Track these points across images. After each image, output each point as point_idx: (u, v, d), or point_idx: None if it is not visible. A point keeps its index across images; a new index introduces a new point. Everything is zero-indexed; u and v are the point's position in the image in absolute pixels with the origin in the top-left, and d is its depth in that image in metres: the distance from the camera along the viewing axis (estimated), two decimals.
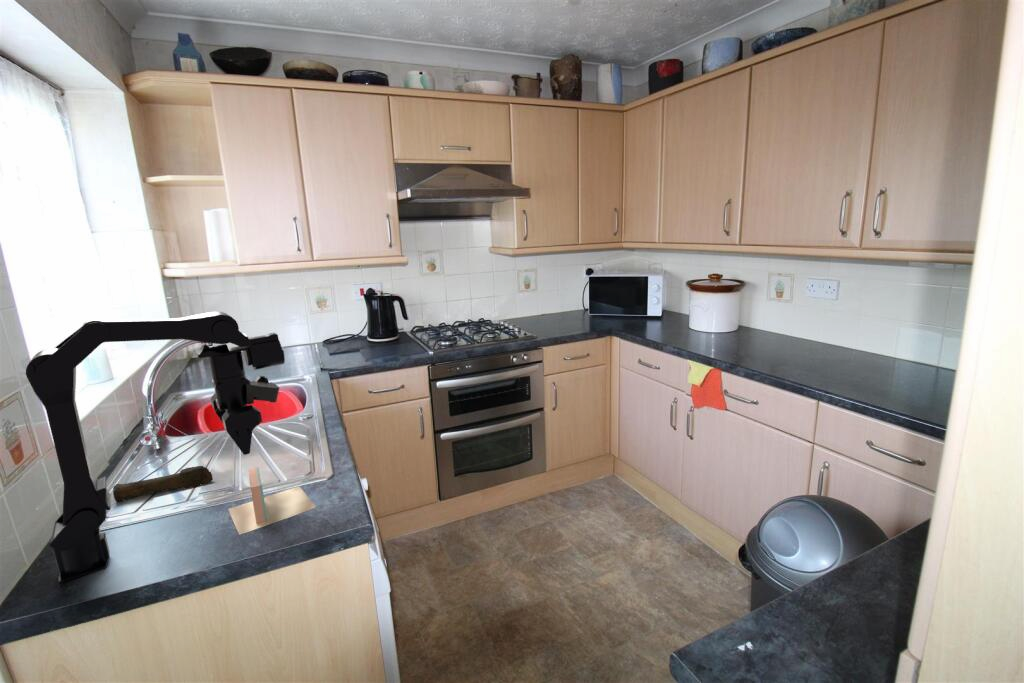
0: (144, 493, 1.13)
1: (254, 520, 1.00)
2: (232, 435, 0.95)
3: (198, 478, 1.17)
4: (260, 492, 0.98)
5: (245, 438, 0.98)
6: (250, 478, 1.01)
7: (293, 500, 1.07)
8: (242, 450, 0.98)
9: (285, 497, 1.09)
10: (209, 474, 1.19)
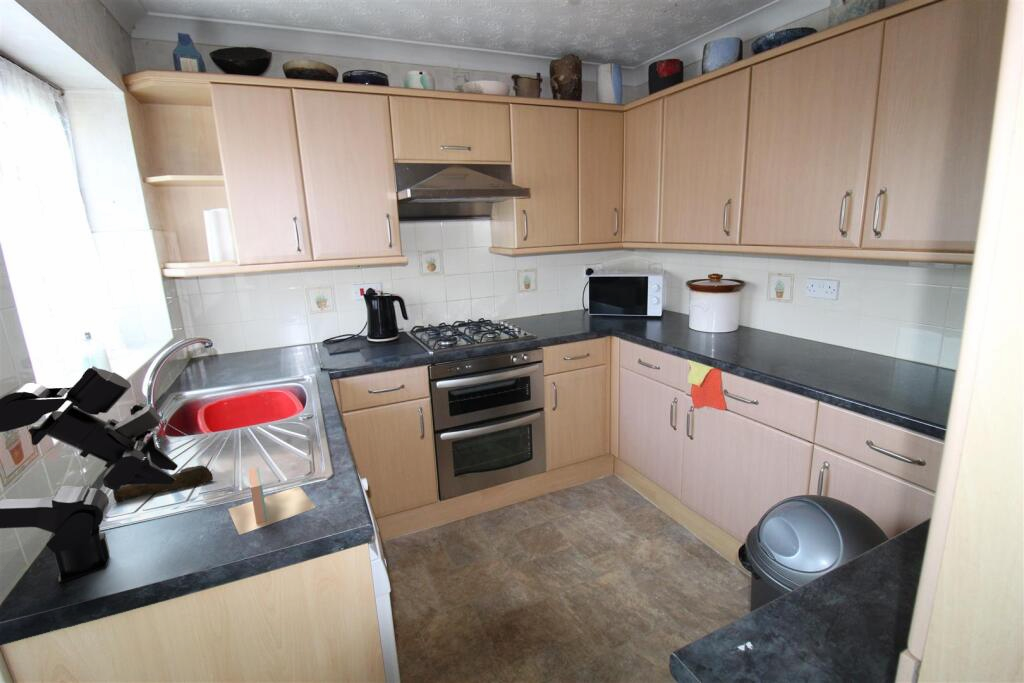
0: (144, 493, 1.13)
1: (254, 520, 1.00)
2: (136, 482, 0.87)
3: (199, 478, 1.18)
4: (260, 492, 0.98)
5: (154, 474, 0.89)
6: (250, 478, 1.01)
7: (293, 500, 1.07)
8: (164, 483, 0.90)
9: (285, 497, 1.09)
10: (209, 473, 1.19)
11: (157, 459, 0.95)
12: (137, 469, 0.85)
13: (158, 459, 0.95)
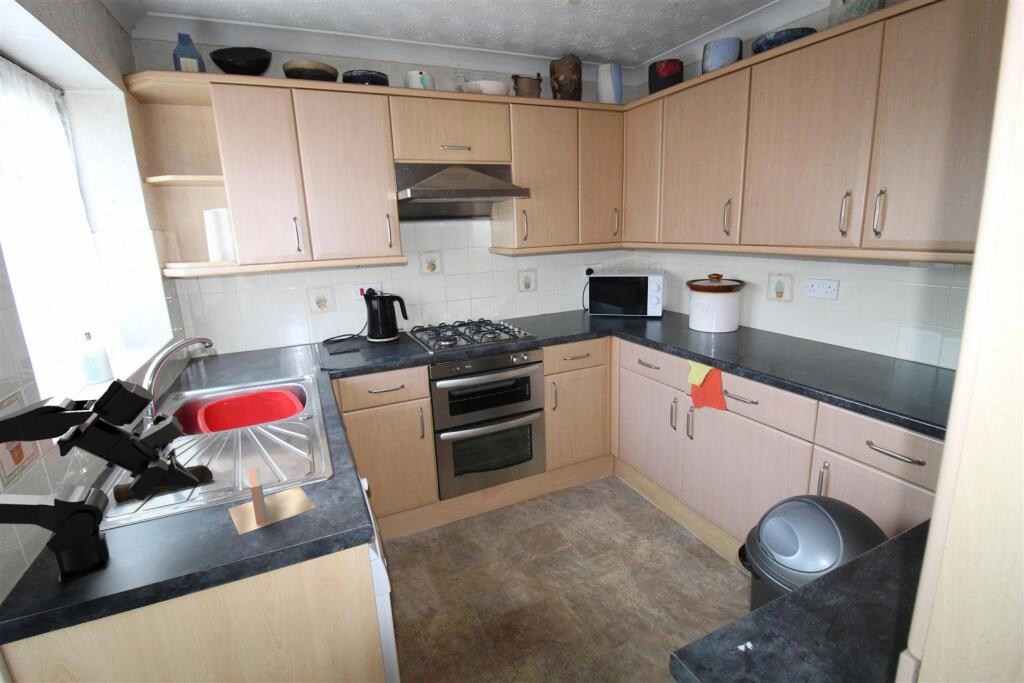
0: None
1: (254, 520, 1.00)
2: (162, 484, 0.92)
3: (199, 477, 1.18)
4: (260, 492, 0.98)
5: (178, 477, 0.93)
6: (250, 478, 1.01)
7: (293, 500, 1.07)
8: (188, 485, 0.95)
9: (285, 497, 1.09)
10: (209, 473, 1.20)
11: None
12: None
13: None
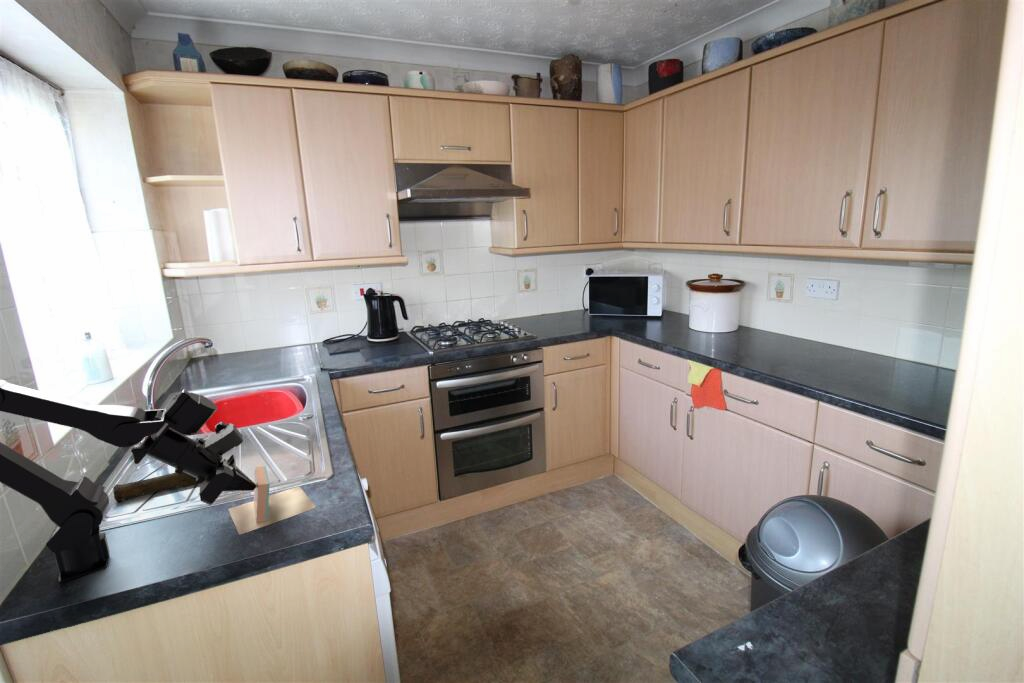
0: (145, 492, 1.13)
1: (254, 520, 1.00)
2: (224, 489, 0.97)
3: None
4: (266, 490, 0.99)
5: (239, 482, 0.99)
6: (258, 475, 1.02)
7: (293, 500, 1.07)
8: (247, 489, 1.01)
9: (285, 497, 1.09)
10: None
11: None
12: None
13: None
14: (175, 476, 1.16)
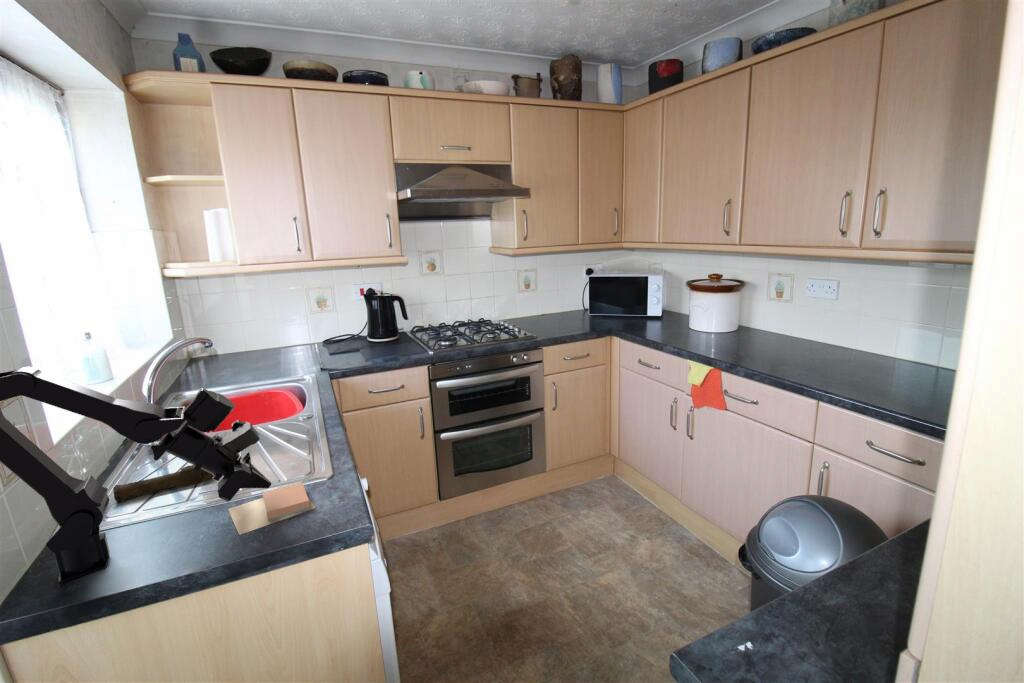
0: (145, 493, 1.13)
1: (254, 520, 1.00)
2: (240, 486, 0.99)
3: (199, 476, 1.19)
4: (302, 509, 1.03)
5: (254, 479, 1.00)
6: (305, 492, 1.07)
7: None
8: (262, 487, 1.02)
9: None
10: None
11: None
12: None
13: None
14: (175, 476, 1.16)
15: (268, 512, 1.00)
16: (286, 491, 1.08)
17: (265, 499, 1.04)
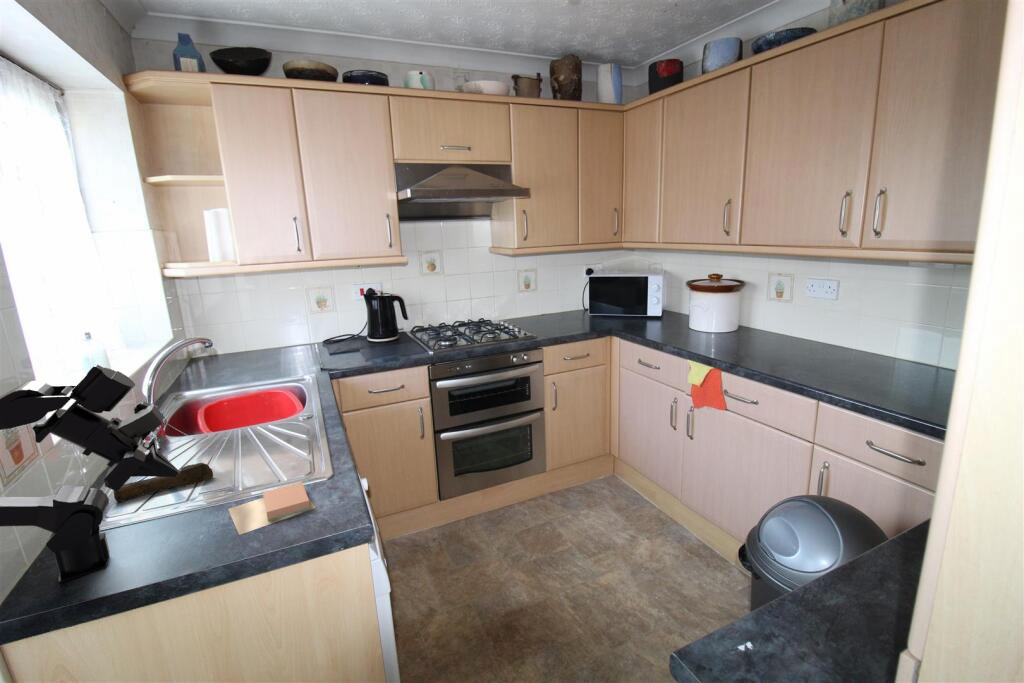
0: (145, 492, 1.13)
1: (254, 520, 1.00)
2: (140, 474, 0.90)
3: (200, 475, 1.19)
4: (302, 509, 1.03)
5: (157, 467, 0.91)
6: (305, 492, 1.07)
7: None
8: (168, 475, 0.93)
9: None
10: (210, 470, 1.21)
11: None
12: None
13: None
14: None
15: (268, 512, 1.00)
16: (286, 491, 1.08)
17: (265, 499, 1.04)
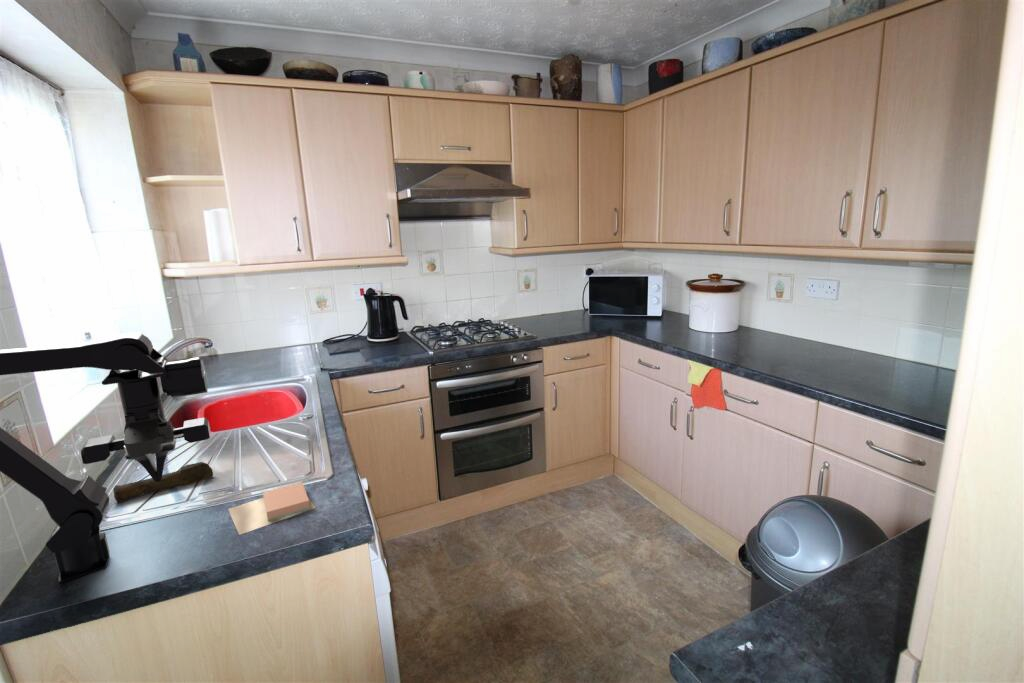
0: (146, 492, 1.14)
1: (254, 520, 1.00)
2: None
3: (200, 474, 1.20)
4: (302, 509, 1.03)
5: None
6: (305, 492, 1.07)
7: None
8: None
9: None
10: (210, 469, 1.21)
11: None
12: None
13: None
14: (176, 475, 1.17)
15: (268, 512, 1.00)
16: (286, 491, 1.08)
17: (265, 499, 1.04)
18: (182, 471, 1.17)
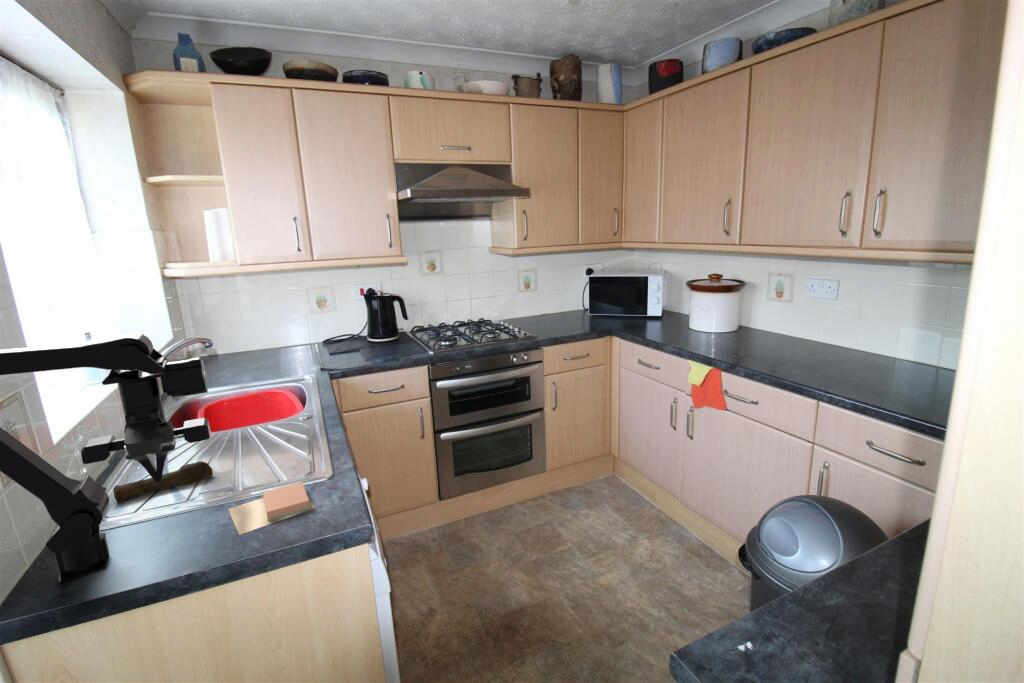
0: (146, 492, 1.14)
1: (254, 520, 1.00)
2: None
3: (200, 474, 1.20)
4: (302, 509, 1.03)
5: None
6: (305, 492, 1.07)
7: None
8: None
9: None
10: (210, 469, 1.22)
11: None
12: None
13: None
14: (176, 474, 1.17)
15: (268, 512, 1.00)
16: (286, 491, 1.08)
17: (265, 499, 1.04)
18: (182, 470, 1.17)
